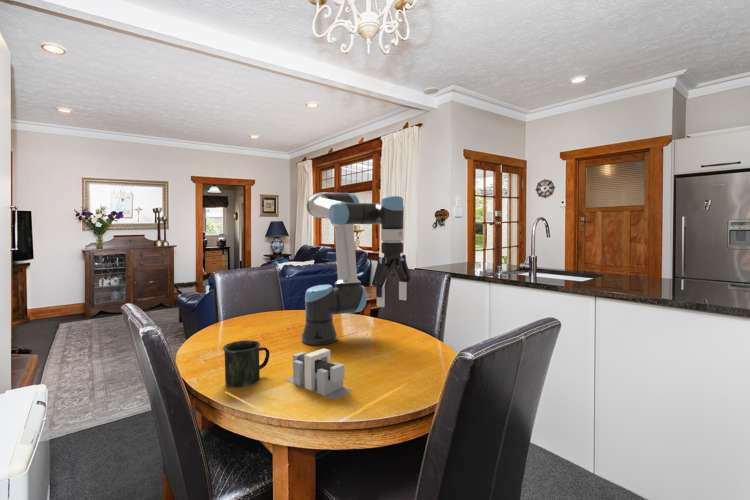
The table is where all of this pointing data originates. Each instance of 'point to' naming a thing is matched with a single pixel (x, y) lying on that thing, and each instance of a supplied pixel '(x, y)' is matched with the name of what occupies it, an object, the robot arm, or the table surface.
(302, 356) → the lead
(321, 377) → the cradle
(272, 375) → the table surface
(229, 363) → the mug
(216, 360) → the table surface
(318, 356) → the u-shaped clip
